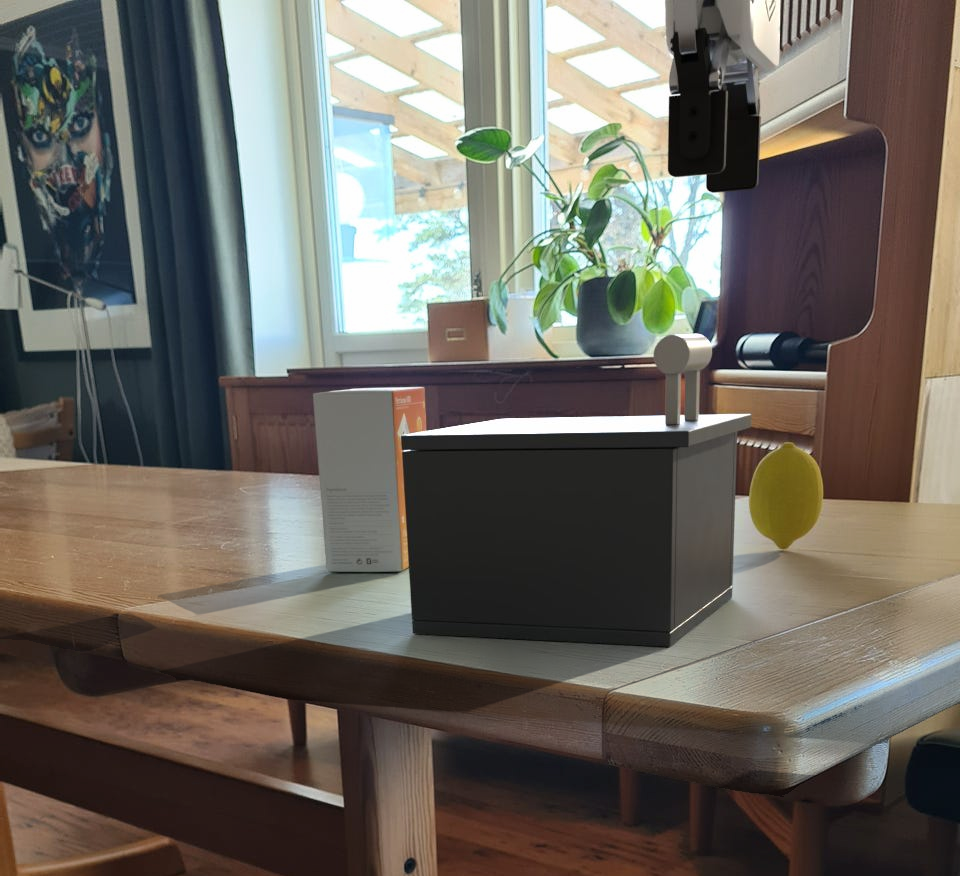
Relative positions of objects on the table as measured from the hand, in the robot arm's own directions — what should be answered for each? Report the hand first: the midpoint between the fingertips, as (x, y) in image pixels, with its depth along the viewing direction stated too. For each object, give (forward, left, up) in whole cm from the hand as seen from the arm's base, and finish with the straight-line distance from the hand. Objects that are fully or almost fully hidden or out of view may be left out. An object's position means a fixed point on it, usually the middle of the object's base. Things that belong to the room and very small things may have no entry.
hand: (715, 183), depth 77 cm
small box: (+27, -5, -24) cm, 37 cm away
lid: (+5, +11, -14) cm, 18 cm away
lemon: (-2, -17, -24) cm, 30 cm away
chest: (+5, +11, -24) cm, 27 cm away
